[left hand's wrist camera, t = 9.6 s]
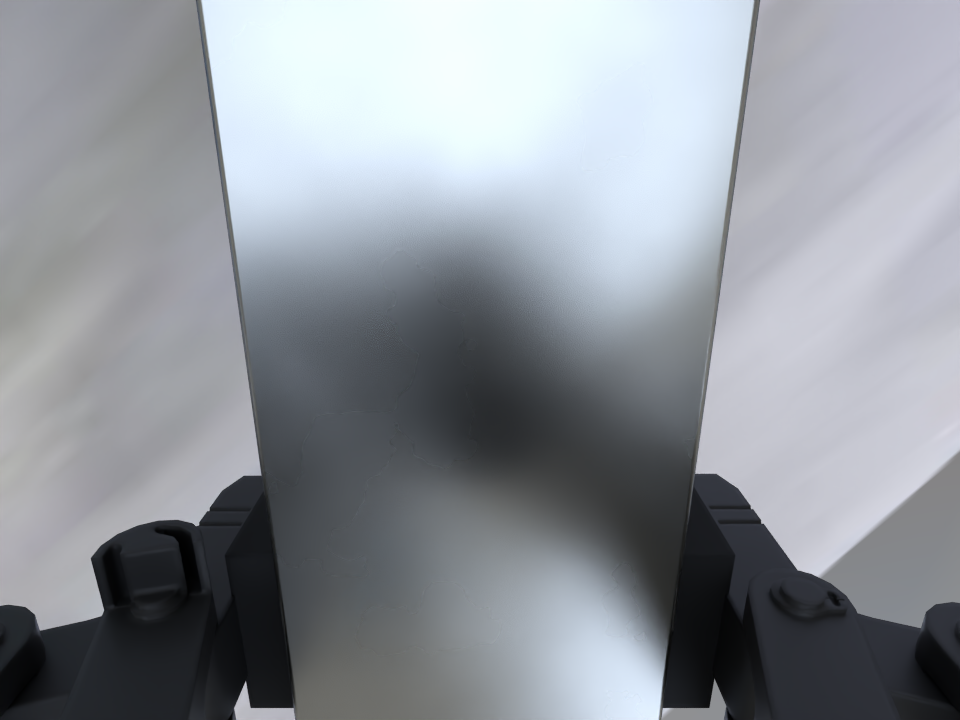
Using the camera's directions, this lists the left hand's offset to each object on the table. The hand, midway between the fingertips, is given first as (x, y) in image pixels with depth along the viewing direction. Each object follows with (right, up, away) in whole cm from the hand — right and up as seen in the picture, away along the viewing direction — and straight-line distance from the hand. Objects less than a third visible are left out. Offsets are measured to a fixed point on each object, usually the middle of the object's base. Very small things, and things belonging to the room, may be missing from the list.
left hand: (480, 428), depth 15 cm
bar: (0, +14, -4) cm, 14 cm away
